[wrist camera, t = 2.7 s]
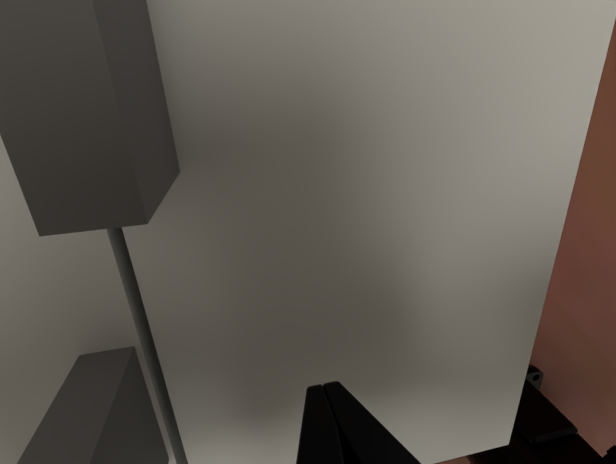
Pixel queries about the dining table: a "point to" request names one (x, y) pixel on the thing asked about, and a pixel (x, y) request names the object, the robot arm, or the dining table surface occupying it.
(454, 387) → the flap
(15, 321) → the flap
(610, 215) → the dining table surface
